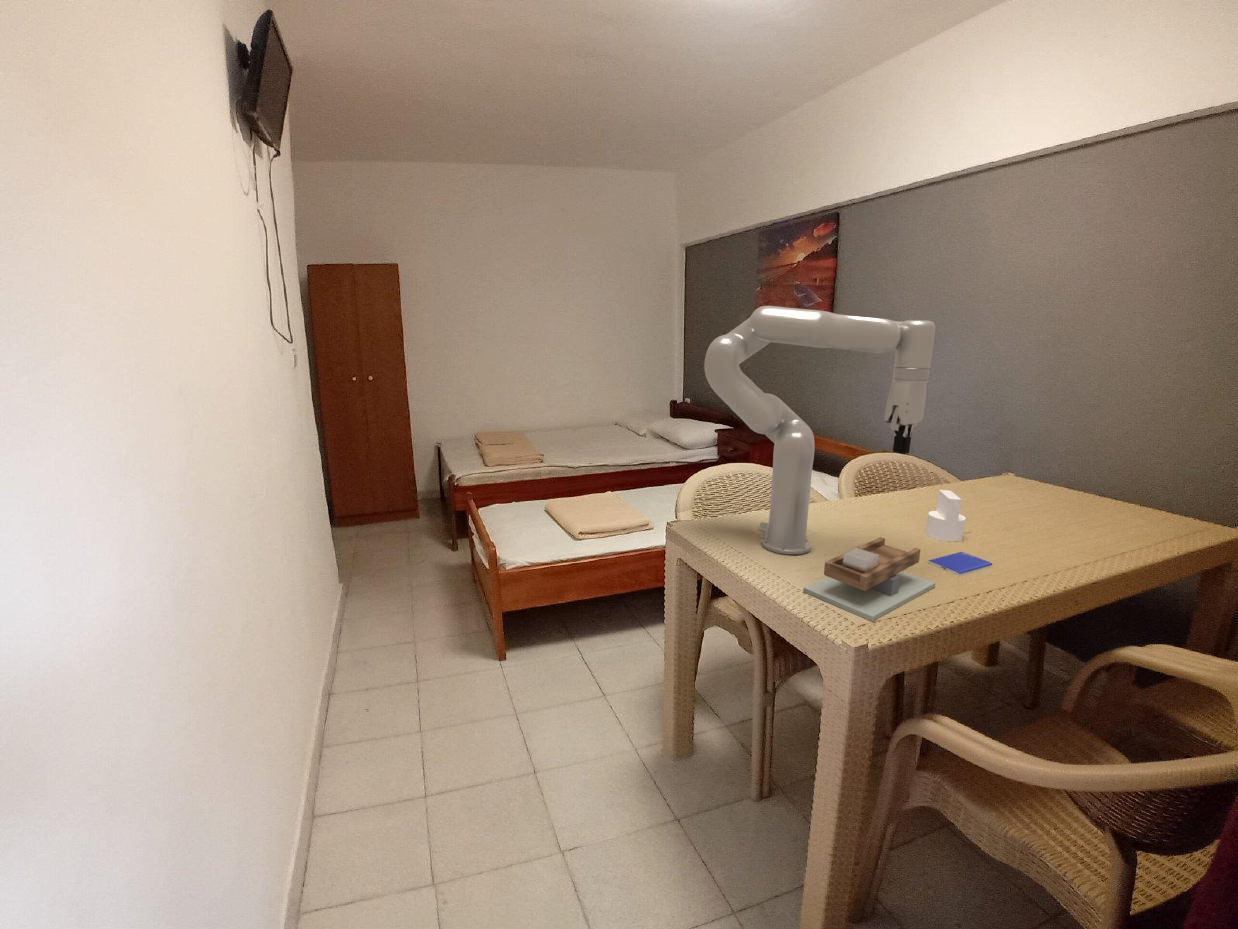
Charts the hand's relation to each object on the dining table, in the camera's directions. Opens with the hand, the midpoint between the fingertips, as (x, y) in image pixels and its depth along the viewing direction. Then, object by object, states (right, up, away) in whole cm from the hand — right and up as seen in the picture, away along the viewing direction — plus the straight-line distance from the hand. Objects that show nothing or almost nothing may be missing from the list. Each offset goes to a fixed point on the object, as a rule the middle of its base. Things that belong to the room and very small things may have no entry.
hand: (900, 452), depth 141 cm
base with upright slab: (+23, -23, +22) cm, 39 cm away
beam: (-12, -26, -12) cm, 31 cm away
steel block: (-17, -25, -17) cm, 35 cm away
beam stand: (-12, -30, -11) cm, 34 cm away
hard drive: (+16, -28, +3) cm, 32 cm away
